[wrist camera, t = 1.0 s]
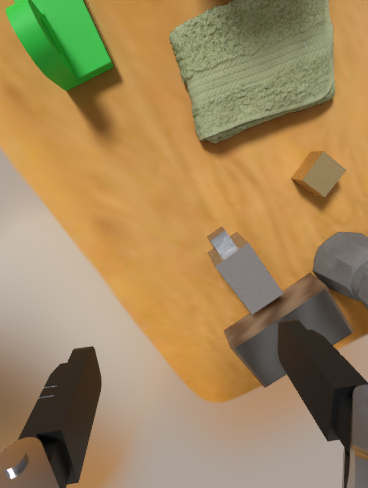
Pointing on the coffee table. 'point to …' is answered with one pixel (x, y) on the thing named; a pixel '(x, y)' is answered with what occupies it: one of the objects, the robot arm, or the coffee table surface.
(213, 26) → the washcloth
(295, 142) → the coffee table surface
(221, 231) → the block
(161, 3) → the coffee table surface
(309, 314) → the stand
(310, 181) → the brass block
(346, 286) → the coffeepot
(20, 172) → the coffee table surface
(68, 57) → the mechanical part
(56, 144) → the coffee table surface
